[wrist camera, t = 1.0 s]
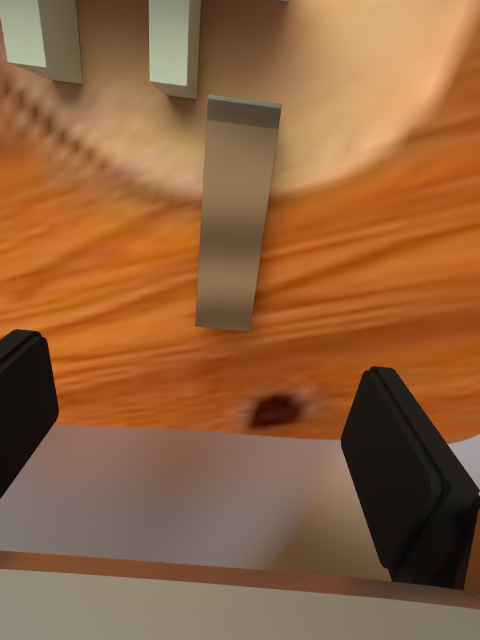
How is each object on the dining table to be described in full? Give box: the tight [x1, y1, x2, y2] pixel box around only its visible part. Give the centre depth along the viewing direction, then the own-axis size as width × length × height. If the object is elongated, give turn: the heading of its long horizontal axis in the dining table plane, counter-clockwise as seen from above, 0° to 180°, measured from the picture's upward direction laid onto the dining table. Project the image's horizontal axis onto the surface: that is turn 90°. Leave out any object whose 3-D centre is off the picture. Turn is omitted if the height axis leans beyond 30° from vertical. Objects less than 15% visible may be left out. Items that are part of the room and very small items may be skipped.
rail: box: [195, 94, 282, 332], centre depth 23 cm, size 14×4×5 cm, turn 174°
